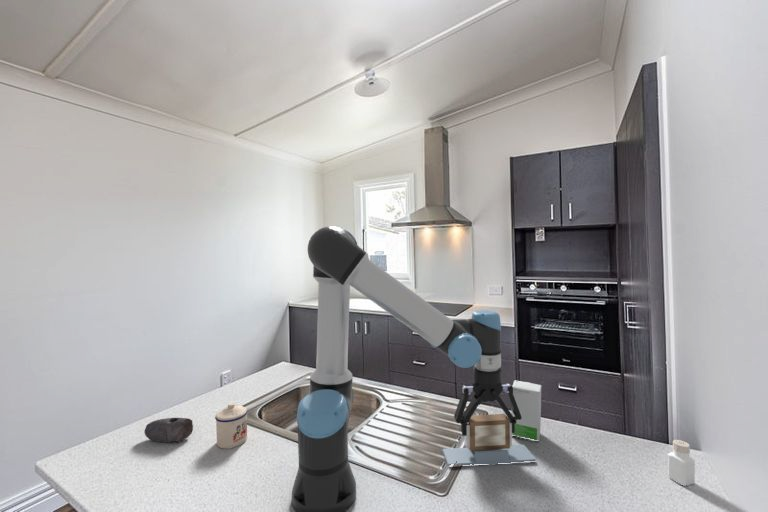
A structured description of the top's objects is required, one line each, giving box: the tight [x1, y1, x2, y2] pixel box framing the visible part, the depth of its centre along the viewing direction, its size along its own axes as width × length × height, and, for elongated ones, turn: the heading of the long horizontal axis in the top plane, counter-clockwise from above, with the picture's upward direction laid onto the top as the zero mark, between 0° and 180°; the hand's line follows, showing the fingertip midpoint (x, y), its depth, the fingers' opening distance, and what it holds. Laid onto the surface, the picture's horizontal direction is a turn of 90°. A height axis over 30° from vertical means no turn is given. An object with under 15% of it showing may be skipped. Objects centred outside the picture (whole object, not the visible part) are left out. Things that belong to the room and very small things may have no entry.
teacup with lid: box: [214, 402, 248, 449], centre depth 110 cm, size 12×9×12 cm
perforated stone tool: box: [144, 417, 194, 443], centre depth 110 cm, size 15×5×7 cm, turn 83°
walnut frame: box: [468, 413, 510, 451], centre depth 98 cm, size 11×4×8 cm, turn 93°
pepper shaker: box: [667, 439, 696, 487], centre depth 87 cm, size 4×4×10 cm
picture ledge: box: [442, 444, 537, 467], centre depth 98 cm, size 24×7×6 cm, turn 93°
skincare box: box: [510, 379, 542, 441], centre depth 109 cm, size 8×7×16 cm
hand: (488, 444), depth 98 cm, fingers closed on walnut frame, 11 cm apart
